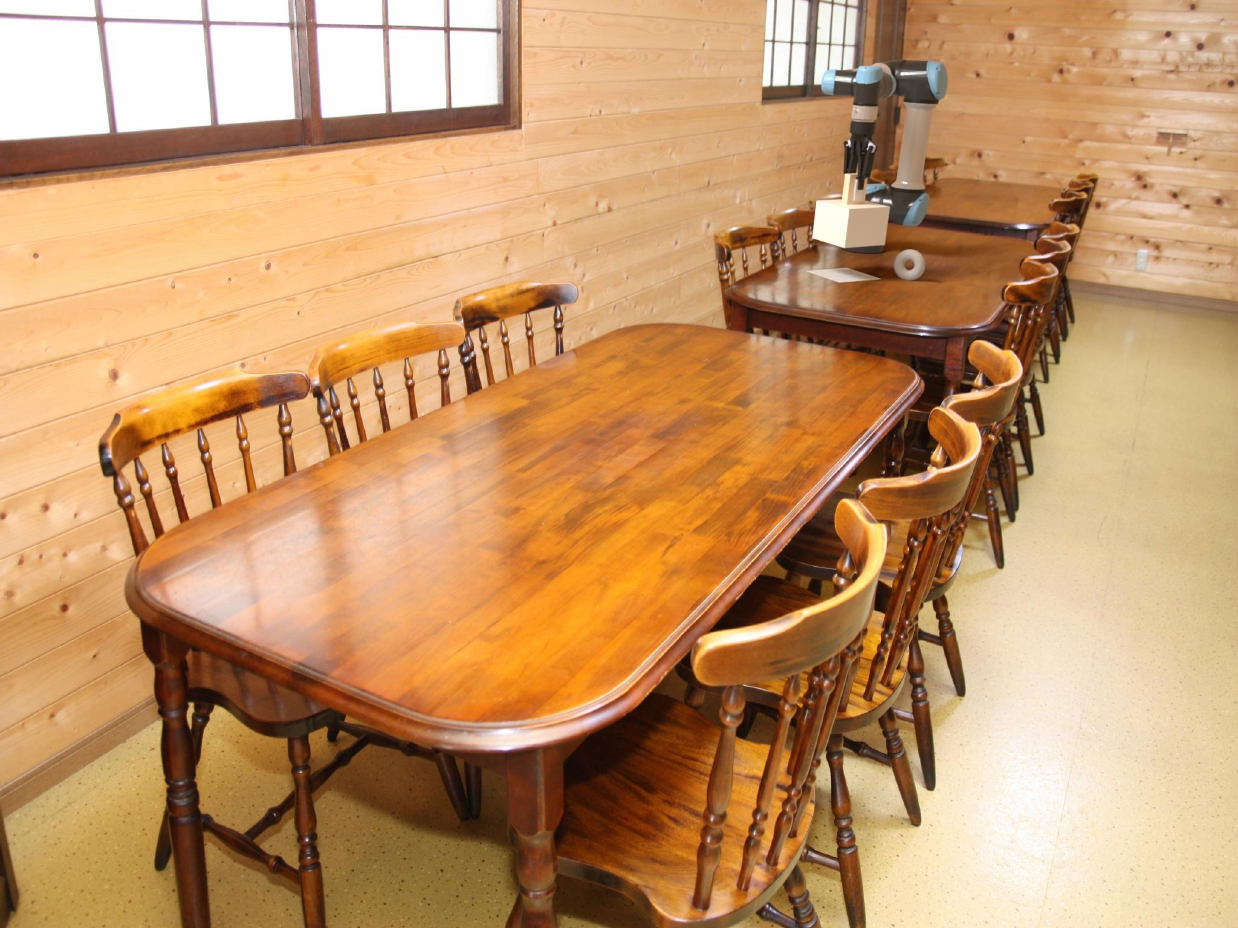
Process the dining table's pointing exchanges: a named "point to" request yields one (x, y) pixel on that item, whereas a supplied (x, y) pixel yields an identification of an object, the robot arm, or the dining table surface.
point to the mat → (843, 275)
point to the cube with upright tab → (851, 219)
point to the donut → (918, 264)
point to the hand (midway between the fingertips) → (853, 199)
